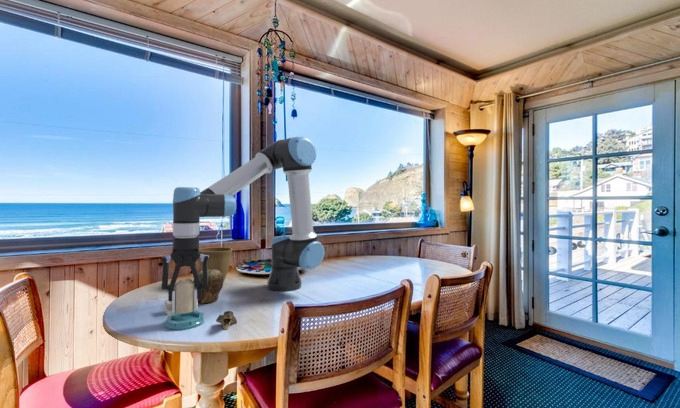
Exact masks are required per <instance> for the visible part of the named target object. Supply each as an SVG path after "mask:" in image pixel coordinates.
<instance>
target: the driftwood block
mask: <svg viewBox="0 0 680 408" xmlns="http://www.w3.org/2000/svg"><path fill="white" fill-rule="evenodd" d="M164 312H165V313H166V315H167V316H169V315H172V314H175V313H176V312H174V313H172V301H169V300H168V299H165V300H164Z"/></svg>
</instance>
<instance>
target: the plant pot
mask: <svg viewBox="0 0 680 408" xmlns="http://www.w3.org/2000/svg"><path fill="white" fill-rule="evenodd" d="M199 251H200V253H201V254H203V255H209V258H208V261H207V270H208V269H209V270H213V269H214V270H219V271H220V272H221V273H222V275H223V283H224V282H225V280H226V276H227V275H228V270H229V268H230V264H231V261H232V253H233V248H232V247H222V246H219V247H217V246H216V247H215V246H213V247H202V248H199ZM198 263H199V268H200V271H202V270H203V262H202V261H201V258H200V257H199V258H198Z"/></svg>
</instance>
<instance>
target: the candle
mask: <svg viewBox="0 0 680 408" xmlns="http://www.w3.org/2000/svg"><path fill="white" fill-rule="evenodd" d="M175 289H176V297H175V312H176V313H178V314H186V313H191V312H193V311H194V290H195V283H194V282H193V279H191V278H185V279H180V280H179V281H177V282H176V283H175Z"/></svg>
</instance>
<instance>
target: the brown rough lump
mask: <svg viewBox="0 0 680 408" xmlns="http://www.w3.org/2000/svg"><path fill="white" fill-rule="evenodd" d="M207 271H208V285H207V287H204V288H202V296H201V299H198V305H199V304H212V303H215V302H216V301H218V299H219V298H220V296H219V294H220V293H221V291H222V289H223V286H224V282H223V275H222V273H221V272H220V271H219V270H214V269H213V270H209V269H208V270H207ZM198 274H199V278H200V281H201V283H203V270H202V271H201V270H200V271H198ZM192 281H193V282H194V283H195V280H194V279H192ZM195 288H197V287H196V283H195Z"/></svg>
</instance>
